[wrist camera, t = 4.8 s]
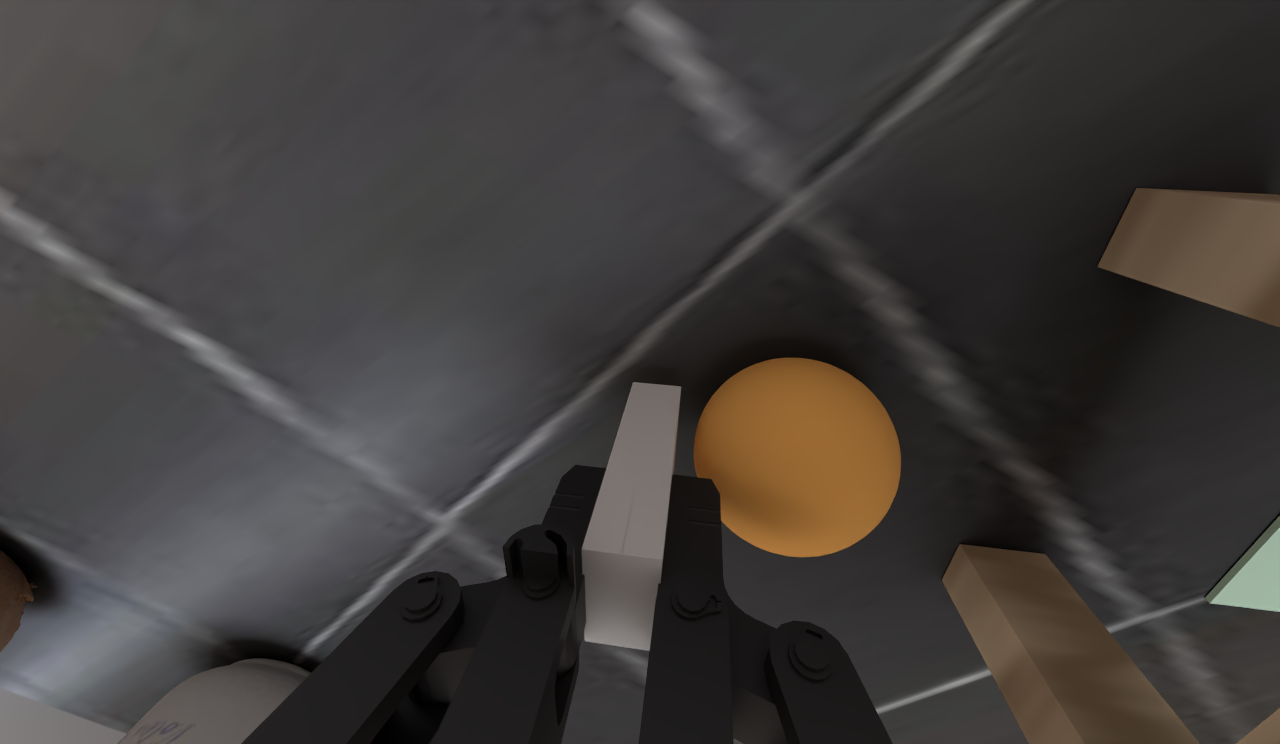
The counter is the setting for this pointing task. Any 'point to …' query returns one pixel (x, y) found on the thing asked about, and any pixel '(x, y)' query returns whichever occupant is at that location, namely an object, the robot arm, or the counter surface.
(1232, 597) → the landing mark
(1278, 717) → the bridge
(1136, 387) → the counter surface
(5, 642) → the onion
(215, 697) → the teacup
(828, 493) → the ball
